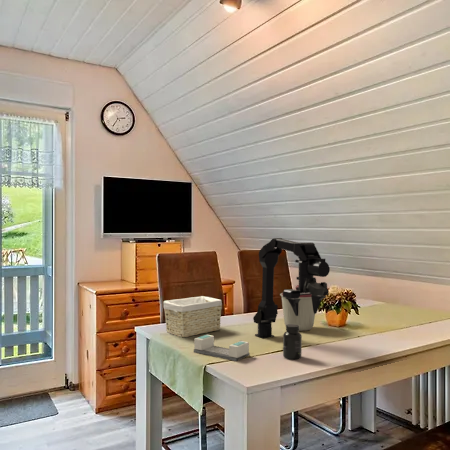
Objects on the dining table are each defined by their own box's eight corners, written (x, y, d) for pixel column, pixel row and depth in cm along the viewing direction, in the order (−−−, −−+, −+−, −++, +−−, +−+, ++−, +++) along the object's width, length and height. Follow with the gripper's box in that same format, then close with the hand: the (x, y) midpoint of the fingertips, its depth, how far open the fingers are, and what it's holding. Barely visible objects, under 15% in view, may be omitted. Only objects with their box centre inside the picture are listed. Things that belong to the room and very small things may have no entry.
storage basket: (181, 339, 188) (181, 305, 188) (161, 332, 200) (161, 300, 200) (223, 331, 203) (223, 299, 203) (202, 324, 215) (203, 295, 216)
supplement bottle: (279, 357, 161) (279, 325, 161) (290, 353, 166) (290, 322, 166) (294, 361, 156) (294, 328, 157) (305, 357, 161) (305, 325, 161)
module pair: (194, 348, 168) (194, 338, 168) (206, 344, 175) (207, 334, 175) (237, 357, 157) (237, 346, 157) (248, 352, 163) (248, 341, 163)
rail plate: (193, 352, 168) (193, 349, 168) (207, 346, 175) (207, 344, 175) (236, 361, 156) (236, 358, 156) (249, 355, 164) (249, 352, 164)
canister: (321, 326, 212) (322, 283, 212) (313, 335, 196) (313, 288, 196) (286, 323, 220) (286, 281, 220) (275, 330, 203) (275, 286, 203)
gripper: (300, 277, 157) (300, 320, 157) (338, 275, 166) (338, 316, 166) (281, 275, 167) (282, 315, 166) (318, 272, 176) (318, 311, 175)
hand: (306, 314), depth 168 cm, fingers open, 9 cm apart
